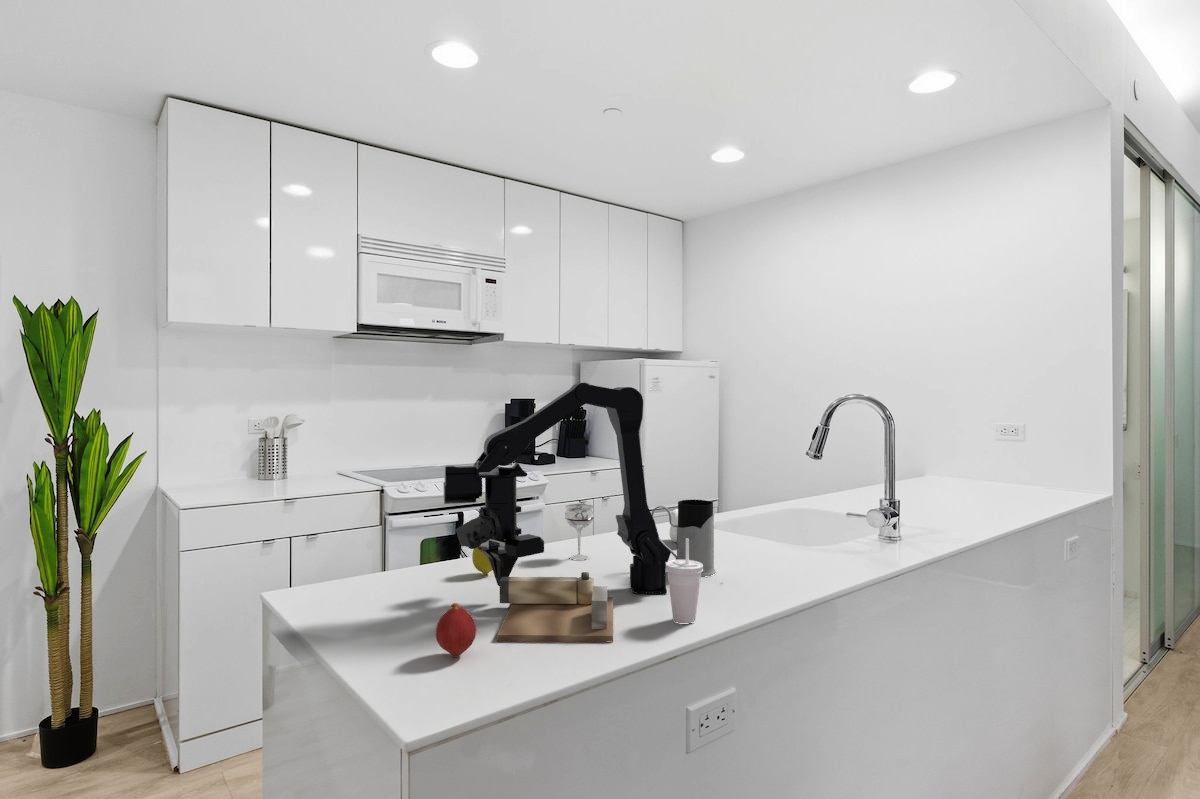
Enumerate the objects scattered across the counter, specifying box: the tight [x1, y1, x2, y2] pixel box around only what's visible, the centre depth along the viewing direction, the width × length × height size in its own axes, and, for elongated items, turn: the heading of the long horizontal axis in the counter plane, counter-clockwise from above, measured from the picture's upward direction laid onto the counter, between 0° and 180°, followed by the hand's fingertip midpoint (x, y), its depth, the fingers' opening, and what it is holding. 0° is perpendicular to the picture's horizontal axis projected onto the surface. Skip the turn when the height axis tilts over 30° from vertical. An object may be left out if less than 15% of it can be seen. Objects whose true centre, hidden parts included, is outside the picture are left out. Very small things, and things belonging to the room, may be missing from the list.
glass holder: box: [651, 499, 717, 578], centre depth 147 cm, size 9×14×15 cm, turn 68°
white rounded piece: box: [669, 508, 716, 543], centre depth 173 cm, size 11×12×9 cm
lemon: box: [471, 545, 493, 576], centre depth 144 cm, size 6×6×8 cm
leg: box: [499, 576, 595, 604], centre depth 122 cm, size 17×3×4 cm, turn 89°
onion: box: [435, 602, 477, 658], centre depth 100 cm, size 6×6×8 cm
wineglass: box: [564, 503, 595, 561], centre depth 159 cm, size 7×7×12 cm
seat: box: [496, 571, 614, 643], centre depth 116 cm, size 18×20×6 cm
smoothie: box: [665, 538, 703, 623], centre depth 115 cm, size 6×6×14 cm
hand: (501, 585), depth 126 cm, fingers closed
